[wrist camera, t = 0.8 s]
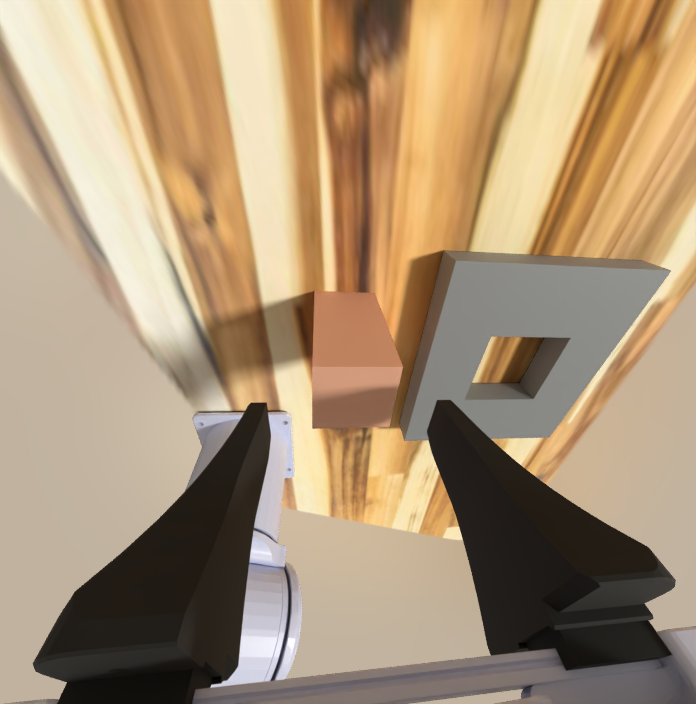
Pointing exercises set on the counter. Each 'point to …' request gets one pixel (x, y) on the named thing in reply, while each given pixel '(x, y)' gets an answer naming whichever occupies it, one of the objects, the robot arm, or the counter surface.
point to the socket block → (522, 335)
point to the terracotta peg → (352, 362)
